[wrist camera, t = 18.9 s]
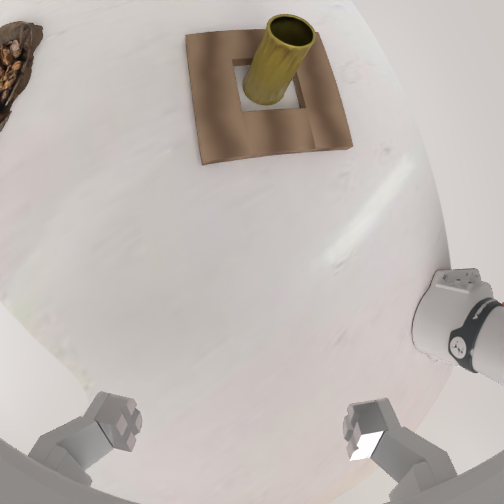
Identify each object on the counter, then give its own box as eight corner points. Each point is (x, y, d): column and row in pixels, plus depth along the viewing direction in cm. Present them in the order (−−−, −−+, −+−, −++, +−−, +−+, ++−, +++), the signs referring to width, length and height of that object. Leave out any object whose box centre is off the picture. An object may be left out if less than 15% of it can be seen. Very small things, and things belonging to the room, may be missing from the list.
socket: (314, 38, 35) (318, 32, 33) (346, 149, 38) (353, 146, 36) (185, 42, 32) (185, 35, 30) (202, 165, 35) (202, 161, 33)
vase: (281, 71, 35) (314, 15, 21) (286, 106, 36) (325, 54, 22) (241, 71, 34) (259, 8, 20) (244, 105, 35) (266, 48, 21)
